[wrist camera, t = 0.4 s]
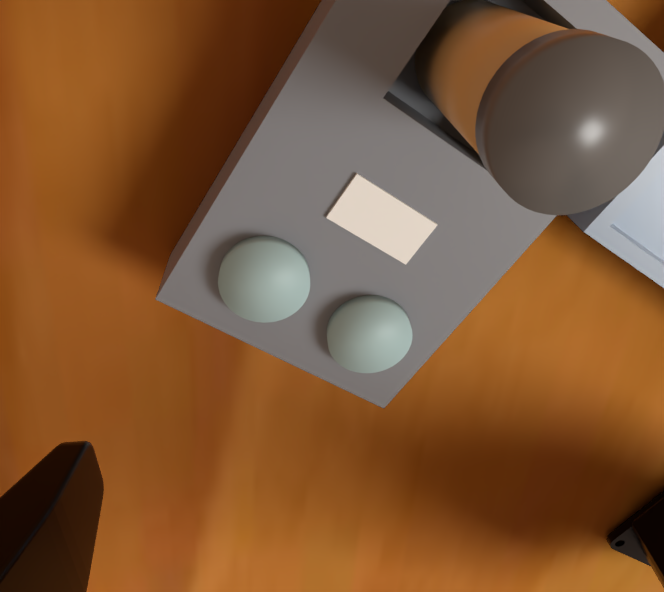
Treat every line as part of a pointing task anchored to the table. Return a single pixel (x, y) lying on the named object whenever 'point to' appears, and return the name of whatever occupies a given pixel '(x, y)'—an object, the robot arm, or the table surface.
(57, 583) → the robot arm
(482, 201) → the panel
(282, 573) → the table surface
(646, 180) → the parts tray
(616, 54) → the cylinder
